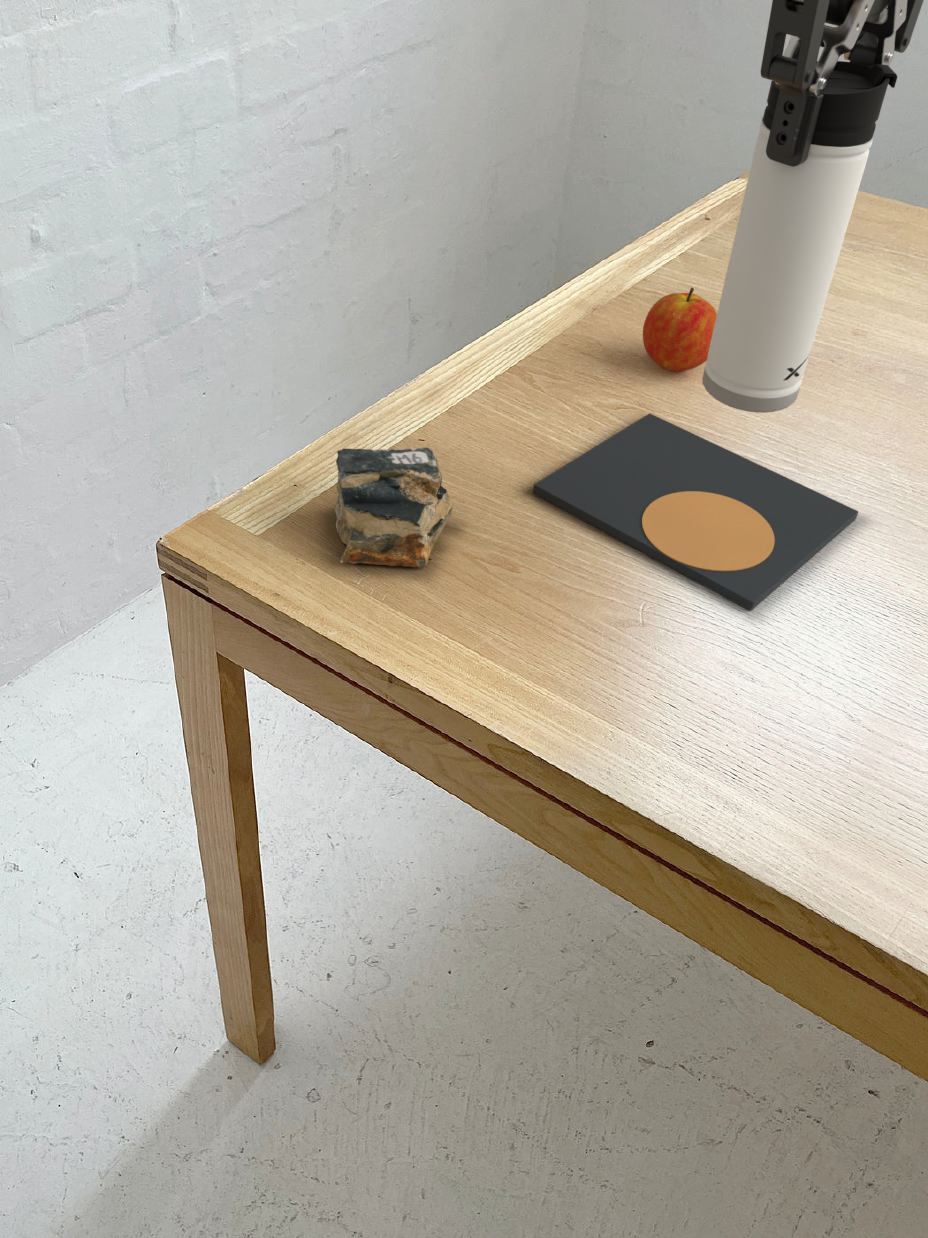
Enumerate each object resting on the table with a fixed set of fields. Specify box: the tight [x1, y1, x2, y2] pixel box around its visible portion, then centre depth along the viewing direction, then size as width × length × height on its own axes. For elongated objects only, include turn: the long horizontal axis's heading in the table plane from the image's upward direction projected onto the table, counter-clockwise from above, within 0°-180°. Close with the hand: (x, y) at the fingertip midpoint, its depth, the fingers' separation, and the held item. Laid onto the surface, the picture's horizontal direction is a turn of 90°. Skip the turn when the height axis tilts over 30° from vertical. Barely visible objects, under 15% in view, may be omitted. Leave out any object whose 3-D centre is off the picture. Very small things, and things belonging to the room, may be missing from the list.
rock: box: [334, 446, 454, 568], centre depth 82 cm, size 9×9×6 cm
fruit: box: [642, 287, 718, 373], centre depth 104 cm, size 7×7×8 cm
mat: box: [532, 413, 859, 612], centre depth 89 cm, size 20×16×1 cm
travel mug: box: [701, 60, 898, 414], centre depth 68 cm, size 6×7×20 cm
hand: (814, 147), depth 64 cm, fingers closed on travel mug, 6 cm apart
